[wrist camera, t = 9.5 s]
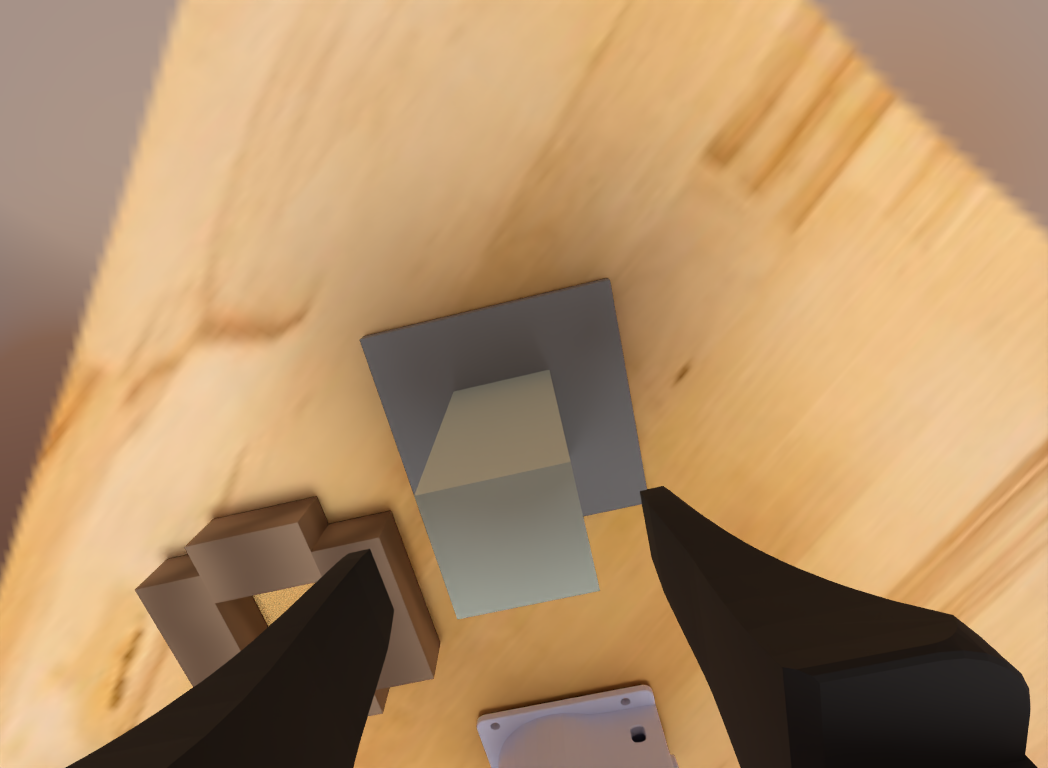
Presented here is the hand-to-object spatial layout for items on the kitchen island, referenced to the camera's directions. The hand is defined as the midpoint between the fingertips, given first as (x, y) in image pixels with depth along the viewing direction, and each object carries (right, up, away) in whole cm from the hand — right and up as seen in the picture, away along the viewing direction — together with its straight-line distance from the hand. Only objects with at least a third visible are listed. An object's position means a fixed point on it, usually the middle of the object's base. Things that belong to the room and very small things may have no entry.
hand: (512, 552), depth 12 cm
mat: (0, +3, +8) cm, 9 cm away
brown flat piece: (-10, -6, +11) cm, 16 cm away
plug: (0, +3, +8) cm, 8 cm away
